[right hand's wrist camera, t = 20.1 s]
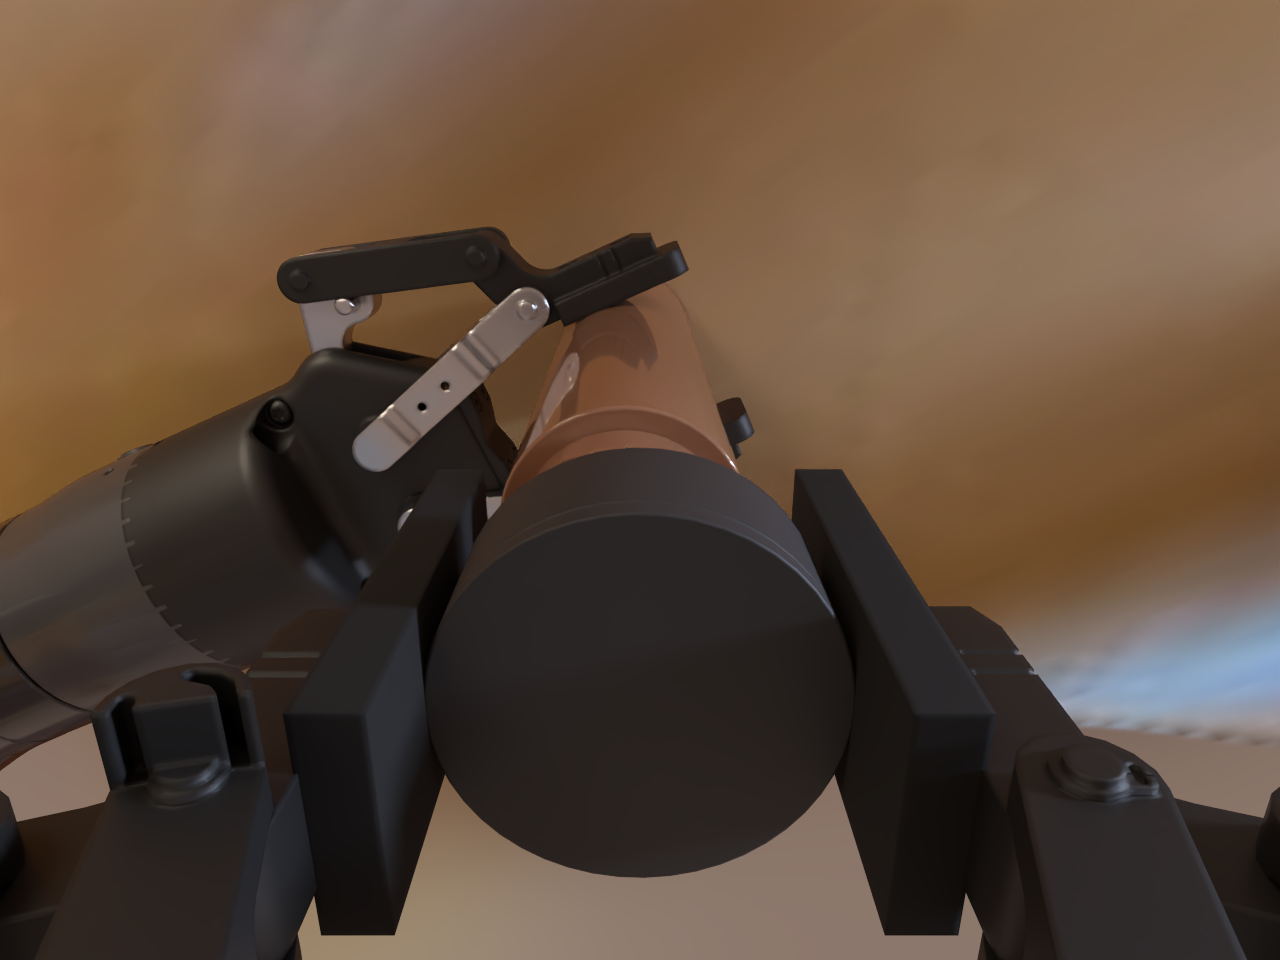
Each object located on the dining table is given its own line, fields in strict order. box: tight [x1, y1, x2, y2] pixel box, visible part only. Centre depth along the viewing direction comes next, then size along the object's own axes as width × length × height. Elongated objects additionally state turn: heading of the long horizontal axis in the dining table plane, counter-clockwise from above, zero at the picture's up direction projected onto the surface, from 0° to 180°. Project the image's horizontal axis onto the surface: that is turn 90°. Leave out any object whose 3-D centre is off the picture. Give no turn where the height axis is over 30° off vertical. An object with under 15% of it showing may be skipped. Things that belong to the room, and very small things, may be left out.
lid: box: [424, 447, 856, 878], centre depth 11 cm, size 5×5×2 cm
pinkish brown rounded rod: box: [501, 283, 741, 504], centre depth 22 cm, size 4×4×19 cm
